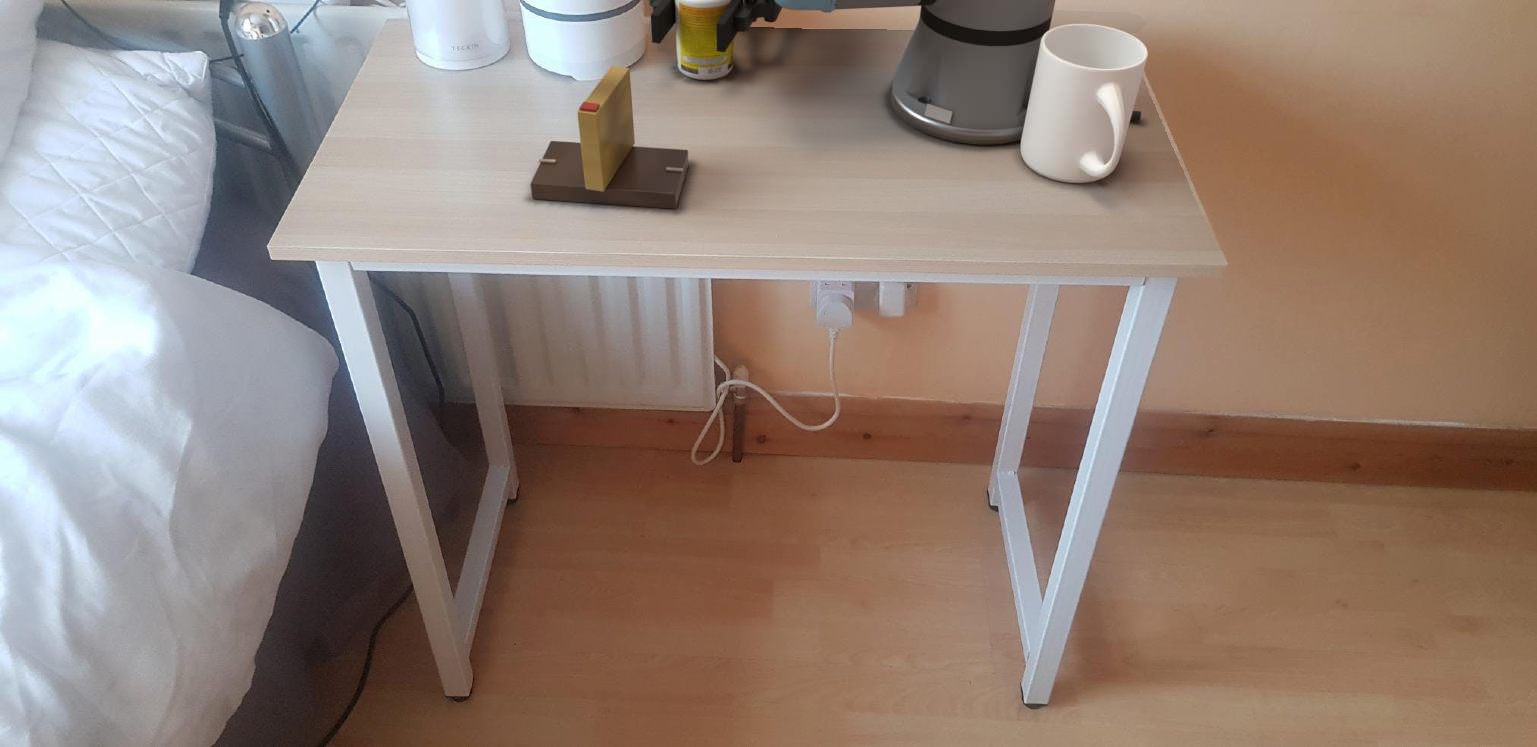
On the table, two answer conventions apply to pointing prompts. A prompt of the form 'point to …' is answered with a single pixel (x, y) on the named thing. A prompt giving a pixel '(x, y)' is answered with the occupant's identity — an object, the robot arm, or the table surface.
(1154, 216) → the table surface
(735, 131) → the table surface
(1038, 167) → the mug
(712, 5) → the supplement bottle
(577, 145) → the panel
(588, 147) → the lock turn
